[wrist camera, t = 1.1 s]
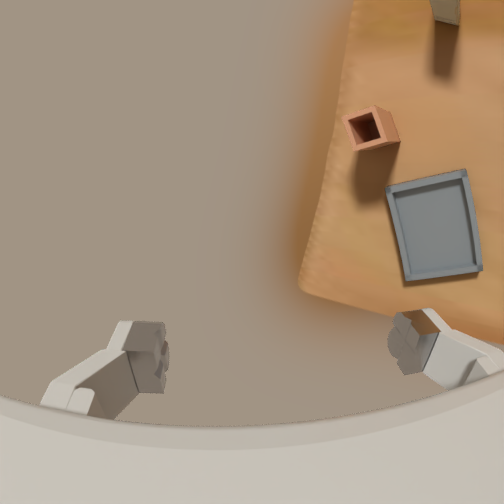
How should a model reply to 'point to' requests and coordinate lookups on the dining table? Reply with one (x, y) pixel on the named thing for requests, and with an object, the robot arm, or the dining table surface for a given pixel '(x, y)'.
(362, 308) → the dining table surface
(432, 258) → the tray
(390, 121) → the cup
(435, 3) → the skincare box
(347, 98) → the dining table surface
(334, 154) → the dining table surface
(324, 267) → the dining table surface
